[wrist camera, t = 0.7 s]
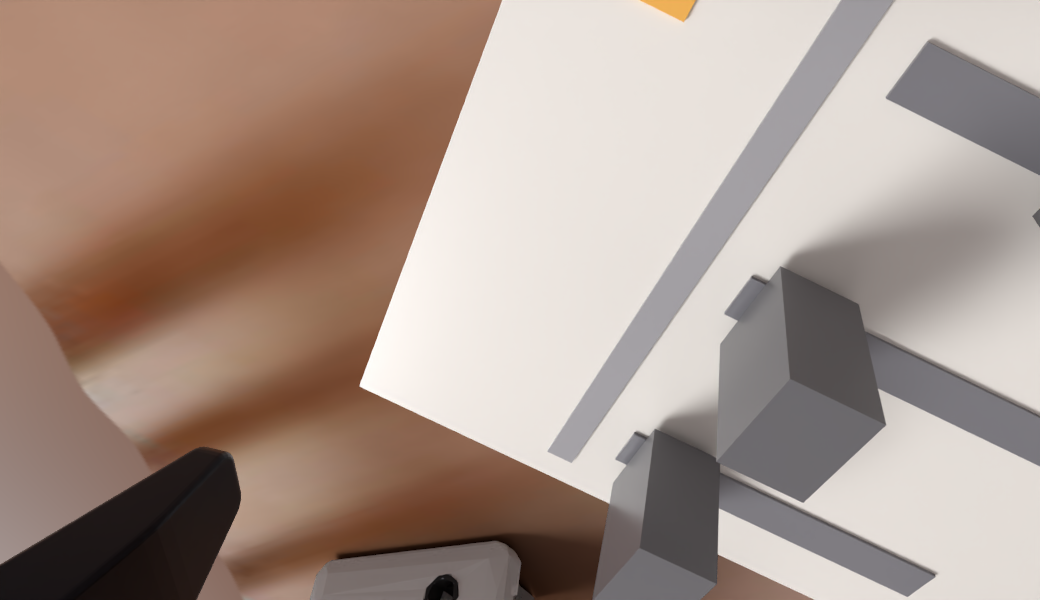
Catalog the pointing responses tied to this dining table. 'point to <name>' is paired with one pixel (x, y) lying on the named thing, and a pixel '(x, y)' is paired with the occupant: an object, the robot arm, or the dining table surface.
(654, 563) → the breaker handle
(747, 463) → the handle
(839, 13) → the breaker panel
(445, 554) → the electrical switch
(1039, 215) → the block
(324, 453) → the dining table surface
